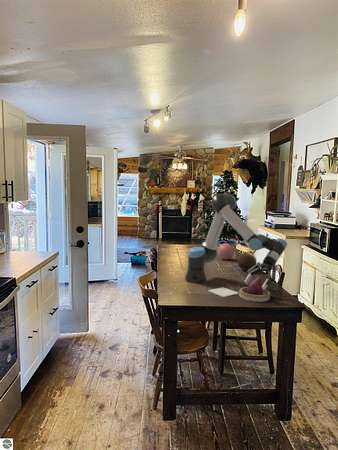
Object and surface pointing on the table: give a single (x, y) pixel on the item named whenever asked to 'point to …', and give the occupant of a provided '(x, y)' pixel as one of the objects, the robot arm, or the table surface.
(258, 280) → the vegetable
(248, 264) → the wooden sphere
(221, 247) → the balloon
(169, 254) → the table surface
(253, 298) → the segmented wooden ring
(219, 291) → the white mat
